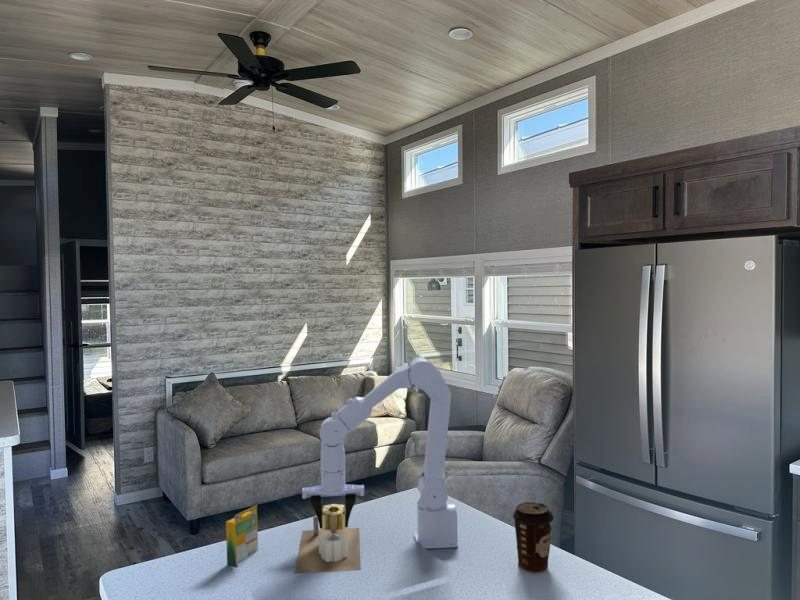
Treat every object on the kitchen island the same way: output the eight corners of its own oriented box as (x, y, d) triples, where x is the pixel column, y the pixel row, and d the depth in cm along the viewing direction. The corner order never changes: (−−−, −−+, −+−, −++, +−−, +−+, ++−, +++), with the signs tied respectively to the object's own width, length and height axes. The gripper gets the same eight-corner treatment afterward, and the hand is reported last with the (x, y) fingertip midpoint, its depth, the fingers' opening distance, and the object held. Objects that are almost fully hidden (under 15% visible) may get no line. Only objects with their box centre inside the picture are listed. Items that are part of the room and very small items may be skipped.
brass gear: (345, 518, 142) (345, 503, 142) (345, 530, 137) (345, 514, 137) (323, 519, 142) (323, 504, 141) (322, 531, 137) (322, 515, 136)
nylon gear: (340, 548, 136) (339, 531, 135) (348, 558, 131) (348, 540, 131) (318, 553, 133) (317, 536, 133) (326, 563, 128) (326, 545, 128)
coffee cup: (555, 561, 130) (555, 502, 130) (552, 578, 122) (552, 516, 122) (516, 555, 133) (515, 498, 133) (510, 572, 125) (510, 512, 125)
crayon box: (249, 551, 137) (248, 502, 137) (258, 554, 136) (258, 504, 135) (226, 564, 131) (225, 513, 130) (236, 567, 129) (235, 515, 129)
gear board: (359, 531, 147) (358, 510, 147) (360, 574, 125) (360, 548, 125) (302, 534, 146) (302, 512, 146) (294, 577, 124) (294, 552, 124)
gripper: (363, 463, 143) (364, 518, 144) (303, 465, 142) (304, 521, 142) (364, 471, 136) (365, 530, 137) (300, 474, 135) (302, 533, 135)
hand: (334, 526), depth 139 cm, fingers closed on brass gear, 5 cm apart
